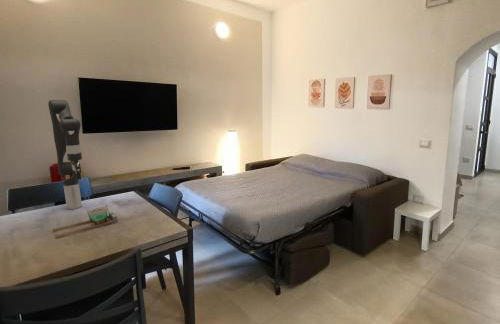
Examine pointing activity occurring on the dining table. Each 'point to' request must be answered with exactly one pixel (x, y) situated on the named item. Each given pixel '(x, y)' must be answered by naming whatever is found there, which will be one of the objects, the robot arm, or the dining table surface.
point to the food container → (98, 215)
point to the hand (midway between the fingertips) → (77, 177)
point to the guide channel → (111, 216)
